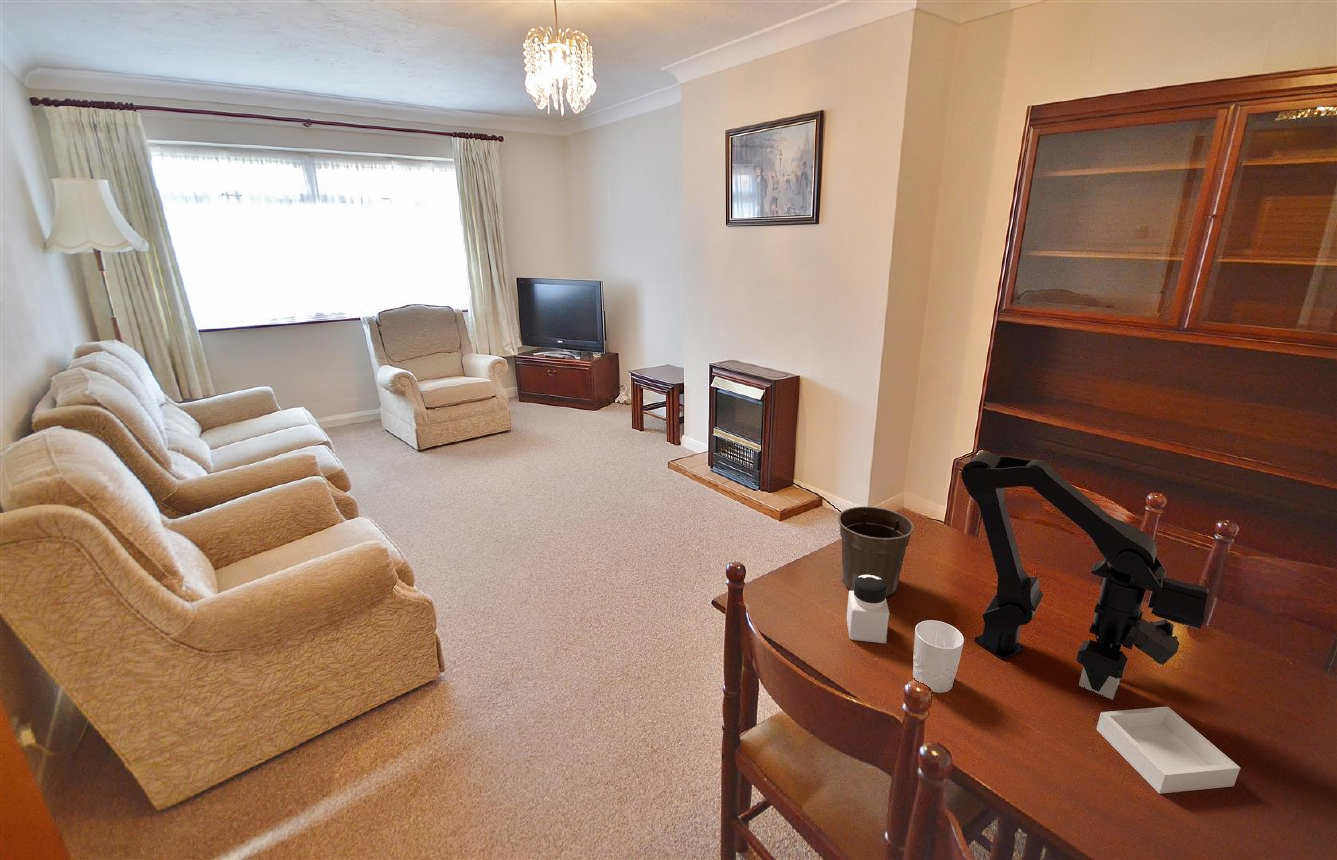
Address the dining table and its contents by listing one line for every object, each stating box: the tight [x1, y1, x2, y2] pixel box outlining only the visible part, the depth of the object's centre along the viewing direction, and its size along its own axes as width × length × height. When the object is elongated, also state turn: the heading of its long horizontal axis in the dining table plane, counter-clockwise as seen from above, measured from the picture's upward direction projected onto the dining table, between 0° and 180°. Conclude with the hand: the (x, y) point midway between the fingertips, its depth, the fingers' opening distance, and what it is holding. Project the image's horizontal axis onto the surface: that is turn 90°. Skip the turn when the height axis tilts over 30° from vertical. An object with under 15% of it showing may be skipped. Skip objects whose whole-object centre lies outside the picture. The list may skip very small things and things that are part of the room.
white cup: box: [912, 619, 965, 694], centre depth 105 cm, size 8×8×10 cm
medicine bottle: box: [846, 575, 891, 644], centre depth 118 cm, size 7×7×12 cm
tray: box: [1096, 706, 1241, 794], centre depth 89 cm, size 12×12×4 cm
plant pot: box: [837, 506, 915, 597], centre depth 133 cm, size 16×16×16 cm
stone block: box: [1078, 665, 1121, 701], centre depth 103 cm, size 5×5×6 cm
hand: (1100, 678), depth 104 cm, fingers open, 8 cm apart
